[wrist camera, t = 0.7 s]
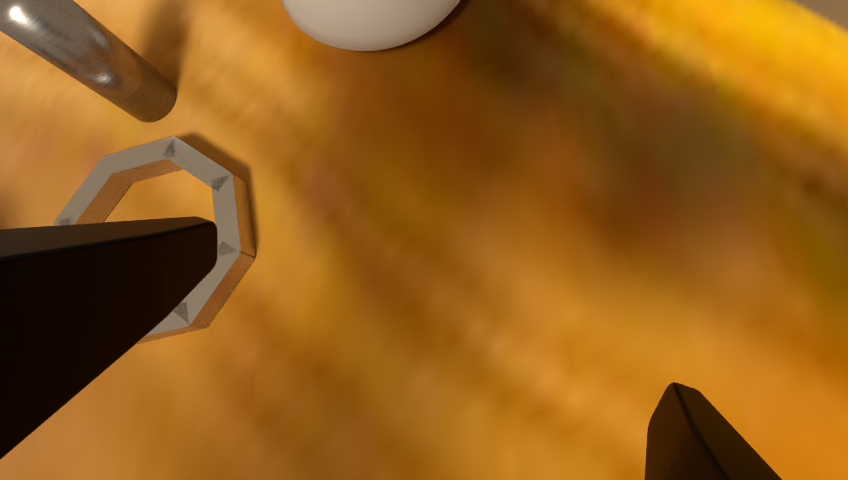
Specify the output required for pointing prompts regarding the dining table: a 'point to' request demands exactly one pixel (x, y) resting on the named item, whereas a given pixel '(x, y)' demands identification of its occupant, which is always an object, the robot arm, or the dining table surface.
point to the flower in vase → (367, 21)
